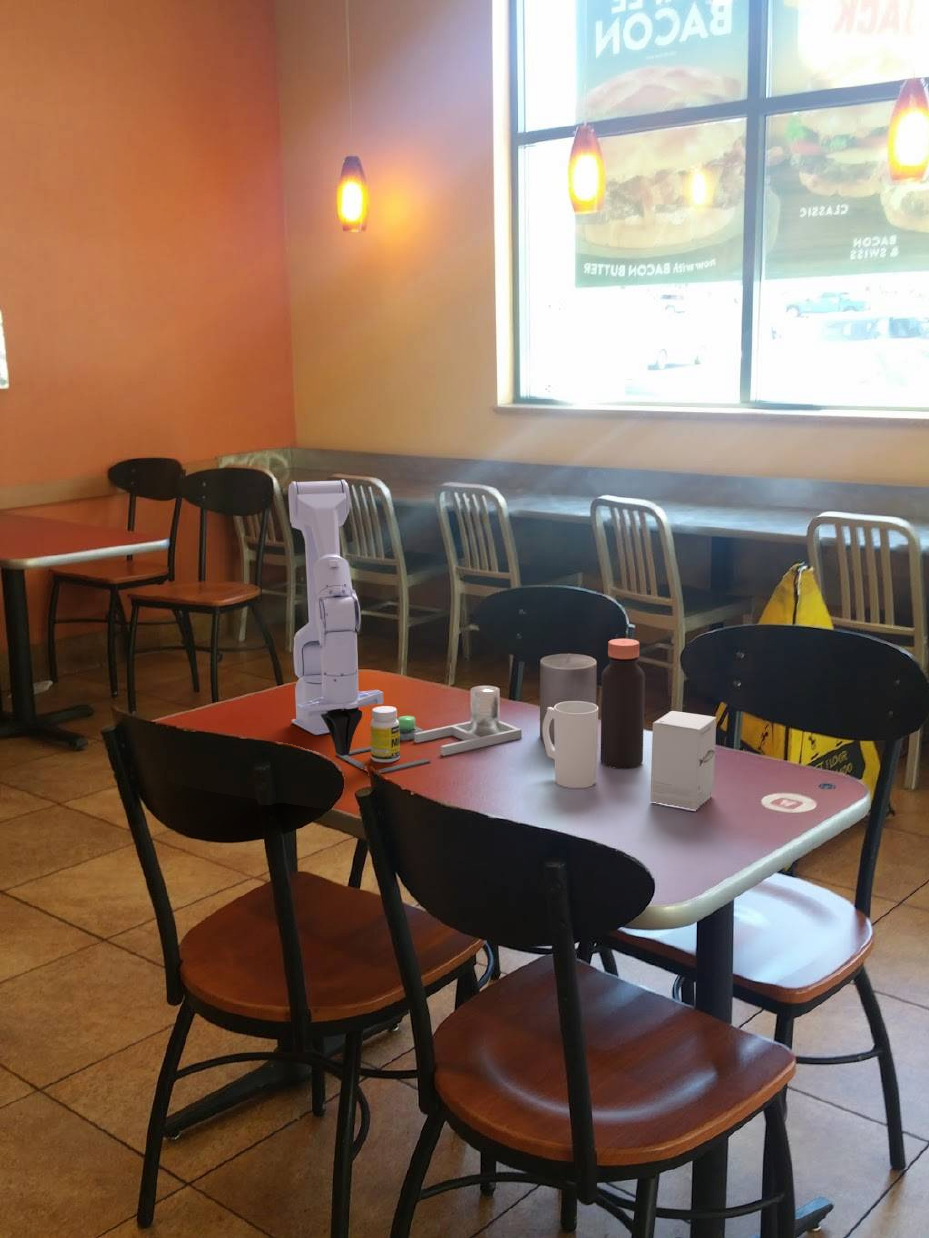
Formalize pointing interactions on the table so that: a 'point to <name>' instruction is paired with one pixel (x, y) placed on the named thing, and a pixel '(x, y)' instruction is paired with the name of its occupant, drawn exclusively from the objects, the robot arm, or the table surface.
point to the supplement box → (683, 759)
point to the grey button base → (409, 734)
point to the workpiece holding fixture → (468, 737)
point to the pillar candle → (565, 683)
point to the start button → (406, 723)
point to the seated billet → (485, 710)
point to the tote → (385, 770)
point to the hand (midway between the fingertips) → (342, 753)
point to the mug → (573, 742)
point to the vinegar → (622, 706)
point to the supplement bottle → (385, 734)
